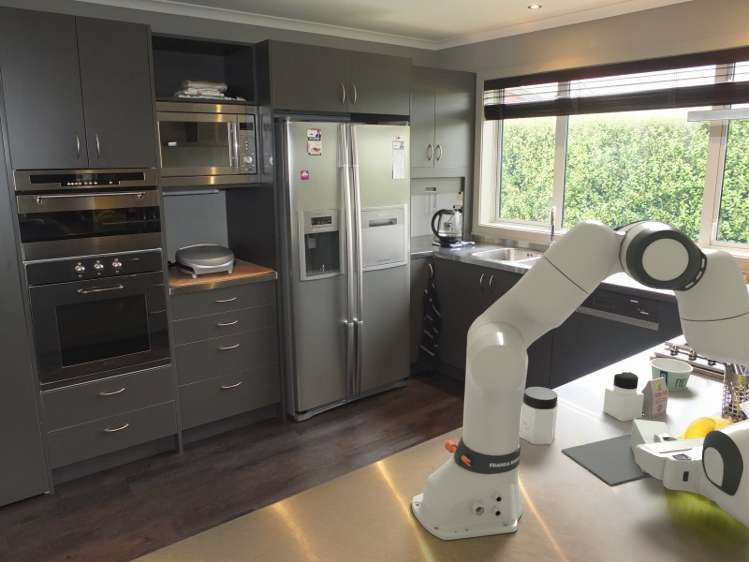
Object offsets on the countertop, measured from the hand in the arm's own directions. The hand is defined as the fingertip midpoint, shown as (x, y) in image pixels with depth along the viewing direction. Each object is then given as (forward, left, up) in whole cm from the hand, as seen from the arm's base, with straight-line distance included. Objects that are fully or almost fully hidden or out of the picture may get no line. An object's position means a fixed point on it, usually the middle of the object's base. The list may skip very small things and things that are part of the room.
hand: (659, 436), depth 128 cm
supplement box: (+1, 0, -6) cm, 6 cm away
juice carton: (+27, +25, -10) cm, 38 cm away
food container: (+48, +38, -10) cm, 62 cm away
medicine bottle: (+18, +27, -10) cm, 34 cm away
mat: (0, +9, -10) cm, 14 cm away
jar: (-12, +25, -10) cm, 30 cm away
